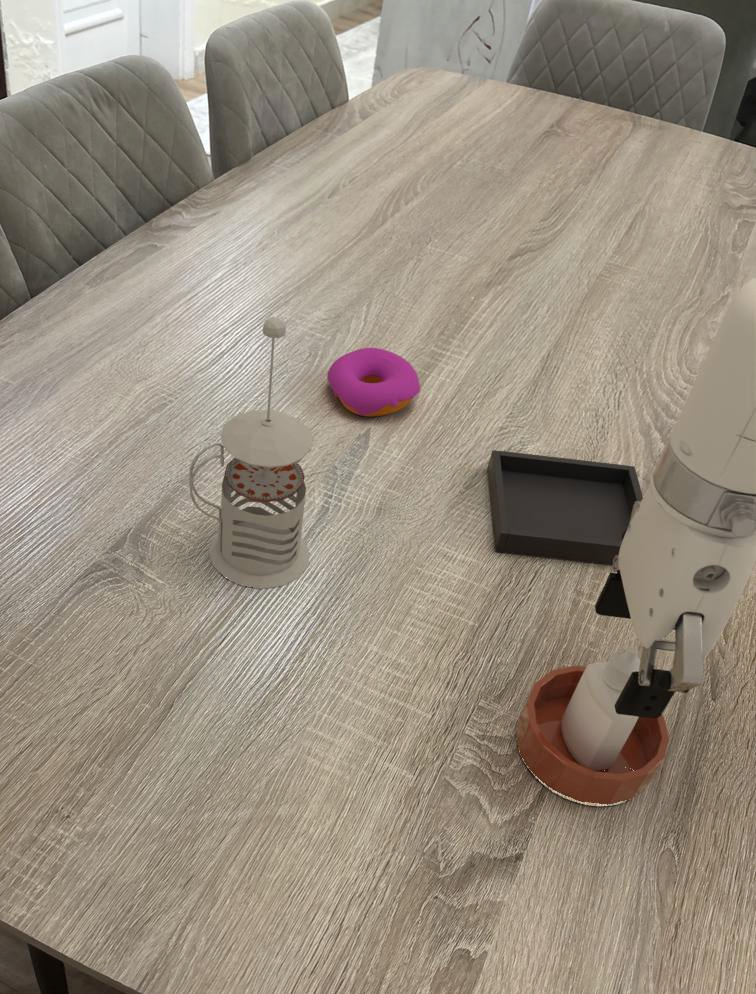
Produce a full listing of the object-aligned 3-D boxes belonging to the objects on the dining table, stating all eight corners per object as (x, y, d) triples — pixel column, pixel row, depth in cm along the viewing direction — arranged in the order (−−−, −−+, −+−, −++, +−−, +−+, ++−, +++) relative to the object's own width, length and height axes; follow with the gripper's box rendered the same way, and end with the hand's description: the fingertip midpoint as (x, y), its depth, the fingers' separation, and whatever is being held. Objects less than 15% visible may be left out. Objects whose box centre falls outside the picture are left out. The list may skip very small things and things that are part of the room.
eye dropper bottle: (555, 765, 76) (602, 670, 67) (560, 712, 80) (605, 616, 71) (610, 779, 75) (663, 685, 67) (612, 725, 79) (663, 630, 71)
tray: (626, 484, 104) (634, 466, 102) (649, 569, 94) (658, 550, 92) (486, 468, 104) (492, 449, 102) (495, 552, 94) (501, 532, 92)
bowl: (637, 703, 82) (654, 673, 79) (662, 815, 74) (681, 787, 71) (510, 688, 82) (522, 658, 79) (521, 799, 74) (534, 770, 71)
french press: (313, 589, 88) (344, 354, 70) (189, 588, 87) (187, 349, 69) (305, 519, 95) (331, 290, 77) (190, 518, 94) (188, 284, 76)
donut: (316, 378, 113) (320, 345, 110) (394, 370, 116) (400, 337, 113) (345, 428, 107) (350, 394, 103) (427, 418, 109) (434, 384, 106)
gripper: (823, 585, 52) (699, 764, 64) (743, 408, 64) (652, 586, 76) (689, 568, 51) (590, 750, 64) (634, 394, 64) (560, 575, 76)
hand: (624, 661), depth 70 cm, fingers open, 9 cm apart
